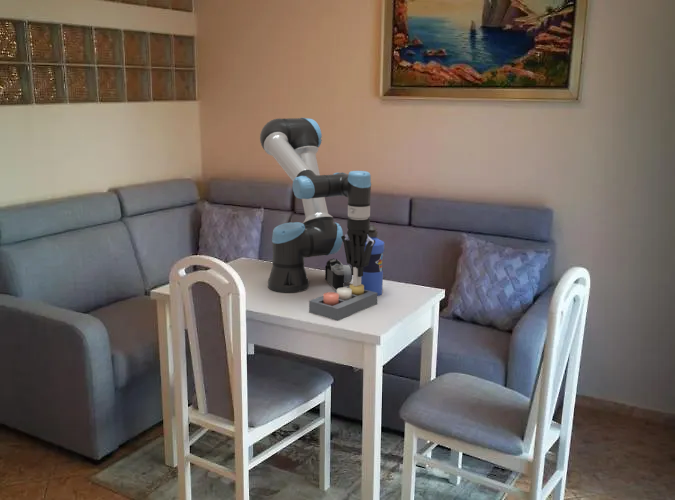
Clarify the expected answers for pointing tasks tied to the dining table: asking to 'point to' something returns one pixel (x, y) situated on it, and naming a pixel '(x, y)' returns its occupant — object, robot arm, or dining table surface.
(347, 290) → the ivory button
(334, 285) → the camera
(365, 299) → the console
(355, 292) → the ochre button
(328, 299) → the coral button
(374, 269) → the water bottle
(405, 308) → the dining table surface
